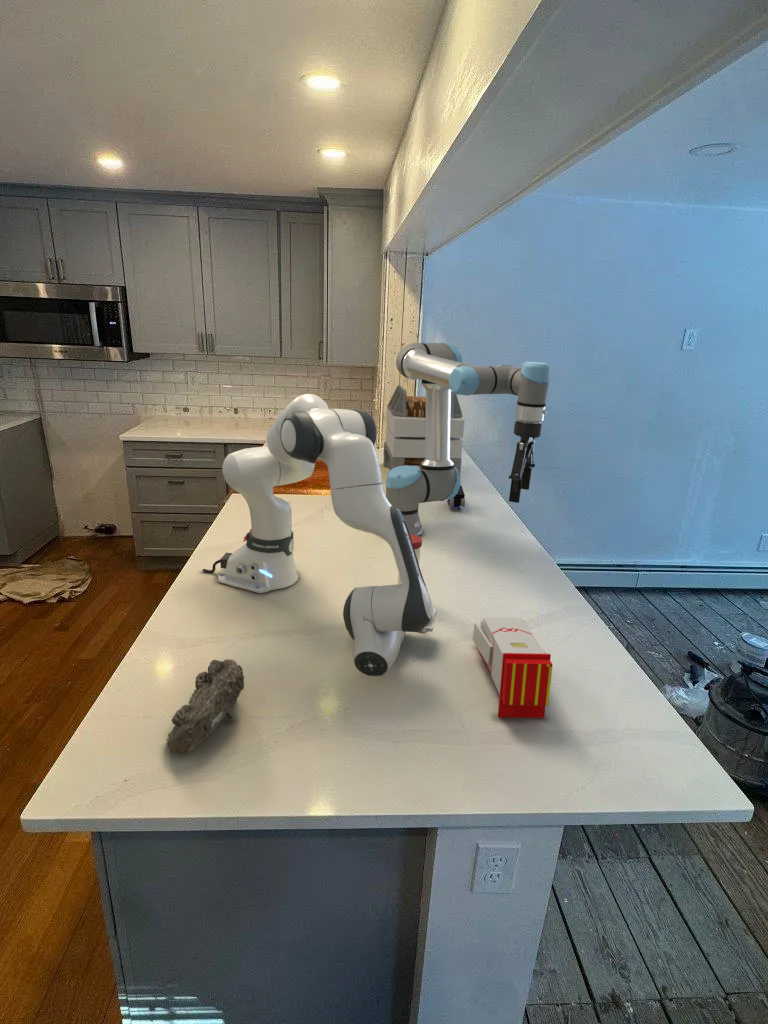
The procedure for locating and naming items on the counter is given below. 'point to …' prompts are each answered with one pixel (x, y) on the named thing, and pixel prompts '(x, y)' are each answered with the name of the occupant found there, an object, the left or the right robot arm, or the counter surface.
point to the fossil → (206, 705)
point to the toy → (515, 666)
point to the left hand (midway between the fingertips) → (399, 597)
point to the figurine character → (457, 500)
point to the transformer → (416, 430)
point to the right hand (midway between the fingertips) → (519, 495)
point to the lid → (416, 541)
